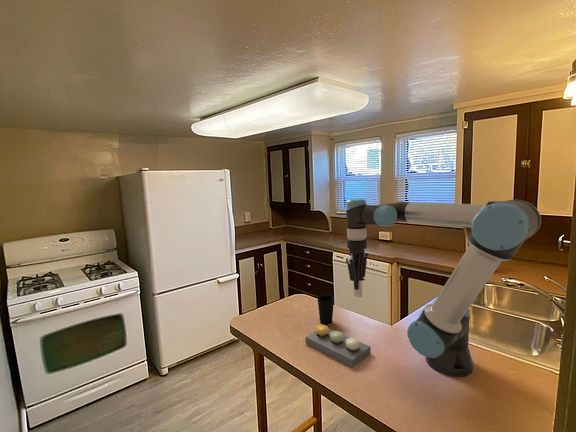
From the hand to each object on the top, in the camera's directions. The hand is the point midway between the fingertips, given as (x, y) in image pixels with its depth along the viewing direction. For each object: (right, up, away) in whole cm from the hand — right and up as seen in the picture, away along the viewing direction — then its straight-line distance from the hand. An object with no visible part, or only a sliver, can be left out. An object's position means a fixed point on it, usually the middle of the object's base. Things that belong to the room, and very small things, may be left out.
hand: (358, 296), depth 124 cm
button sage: (-9, -19, -1) cm, 21 cm away
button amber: (-14, -18, +5) cm, 24 cm away
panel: (-9, -21, -1) cm, 22 cm away
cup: (-10, -18, +21) cm, 30 cm away
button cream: (-3, -20, -6) cm, 21 cm away
